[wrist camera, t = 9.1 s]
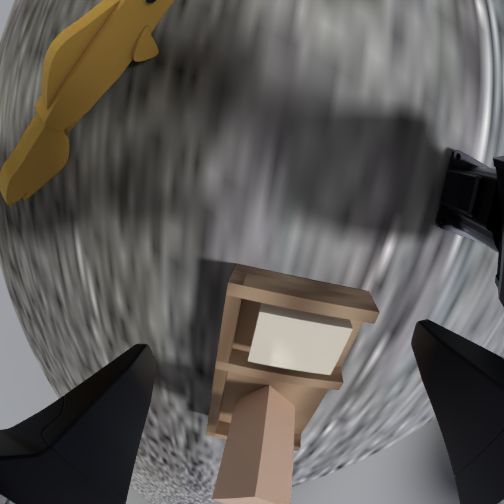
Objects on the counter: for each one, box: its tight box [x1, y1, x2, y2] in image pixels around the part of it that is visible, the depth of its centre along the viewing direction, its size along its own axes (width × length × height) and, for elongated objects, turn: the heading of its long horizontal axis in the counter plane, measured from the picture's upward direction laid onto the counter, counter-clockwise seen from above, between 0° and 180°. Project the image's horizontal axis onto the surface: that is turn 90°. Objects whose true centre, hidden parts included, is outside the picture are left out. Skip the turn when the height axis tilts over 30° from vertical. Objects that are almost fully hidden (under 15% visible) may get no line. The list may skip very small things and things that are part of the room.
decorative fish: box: [0, 0, 174, 205], centre depth 14 cm, size 22×3×10 cm, turn 129°
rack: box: [206, 264, 379, 451], centre depth 23 cm, size 11×21×3 cm, turn 170°
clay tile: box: [248, 303, 353, 375], centre depth 20 cm, size 7×5×2 cm
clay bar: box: [212, 385, 295, 504], centre depth 20 cm, size 4×4×12 cm
